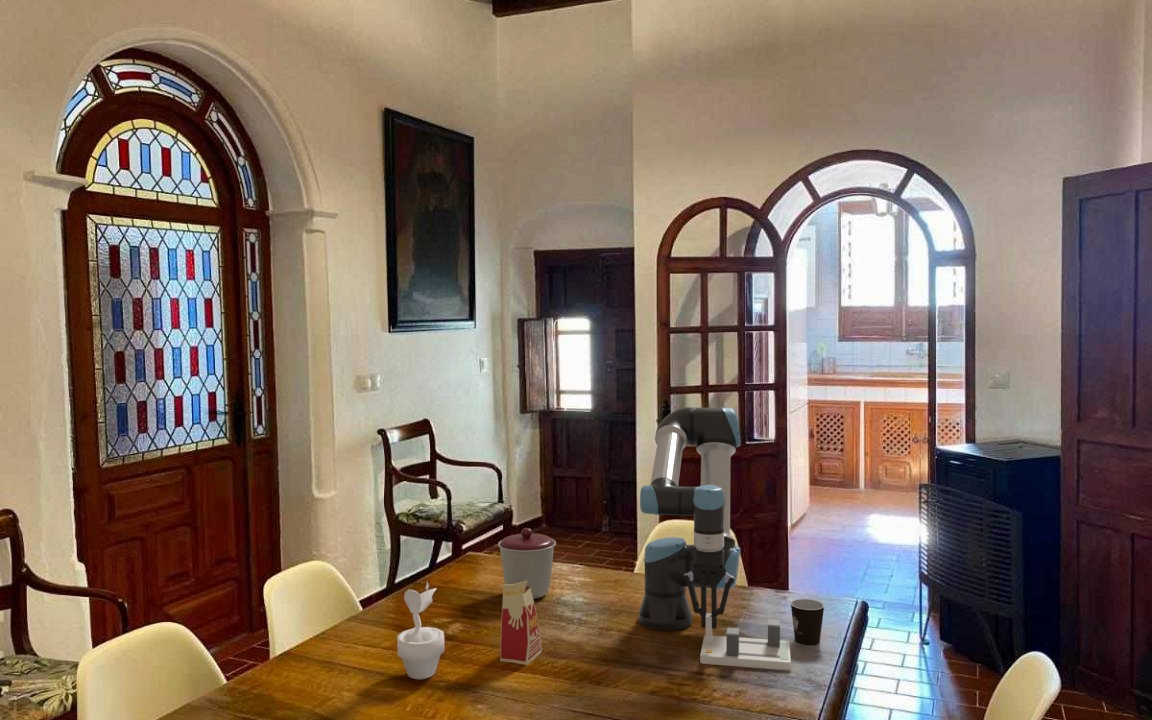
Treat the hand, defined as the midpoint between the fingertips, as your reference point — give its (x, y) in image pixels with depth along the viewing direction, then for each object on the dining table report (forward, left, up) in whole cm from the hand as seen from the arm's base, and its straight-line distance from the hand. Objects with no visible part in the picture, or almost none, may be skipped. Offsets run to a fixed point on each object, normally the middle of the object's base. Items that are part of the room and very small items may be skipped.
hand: (709, 640), depth 216 cm
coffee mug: (+25, +19, -5) cm, 32 cm away
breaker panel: (+9, +4, -5) cm, 11 cm away
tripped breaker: (+6, 0, -3) cm, 6 cm away
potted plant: (-68, -22, -5) cm, 72 cm away
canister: (-59, +40, -5) cm, 71 cm away
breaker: (+16, +8, -3) cm, 18 cm away
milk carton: (-48, -7, -5) cm, 49 cm away
